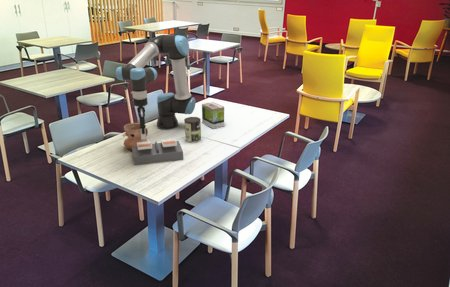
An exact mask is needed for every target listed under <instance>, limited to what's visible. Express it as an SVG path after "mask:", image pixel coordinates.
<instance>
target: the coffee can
mask: <svg viewBox="0 0 450 287" xmlns="http://www.w3.org/2000/svg"><path fill="white" fill-rule="evenodd" d="M183 120H184V131H185V132H184V133H185V134H184V135H185V139H184V140H185V142H187V143H192V144H195V143H199V142H201V141H202V132H201V130H202V129H201V121H202V119H201V118H200V117H198V116H189V117H185V118H184V119H183Z"/></svg>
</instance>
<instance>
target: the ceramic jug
mask: <svg viewBox="0 0 450 287" xmlns="http://www.w3.org/2000/svg"><path fill="white" fill-rule="evenodd" d="M139 127H140V122H132V123H126V124H125V125H124V126H123V130H124V133H122V137H127V138H126V139H125V140H124V141H123V146H124V147H125V148H126V149H127V150H131V151H132V146H136V145H137V142H147V141H148V140H147V137H148V133H149V132H148V128H147V127H146V128H145V130H146V139H141V131H140V129H139Z"/></svg>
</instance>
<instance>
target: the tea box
mask: <svg viewBox="0 0 450 287" xmlns="http://www.w3.org/2000/svg"><path fill="white" fill-rule="evenodd" d="M201 116H202V117H201V118H202V119H201V121H202V122H201V123H202V124H204V125H205V126H207V127H210V128H211V129H213V130H214V129H218V128H222V127H225V106H223V105H221V104H219V103H216V102H214V101H211V102H205V103H202V104H201Z"/></svg>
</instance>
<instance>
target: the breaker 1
mask: <svg viewBox="0 0 450 287" xmlns="http://www.w3.org/2000/svg"><path fill="white" fill-rule="evenodd" d="M152 144H153V143H152V141H151V140H147V142H137V148H138V150H142V149H151V148H152Z"/></svg>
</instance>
